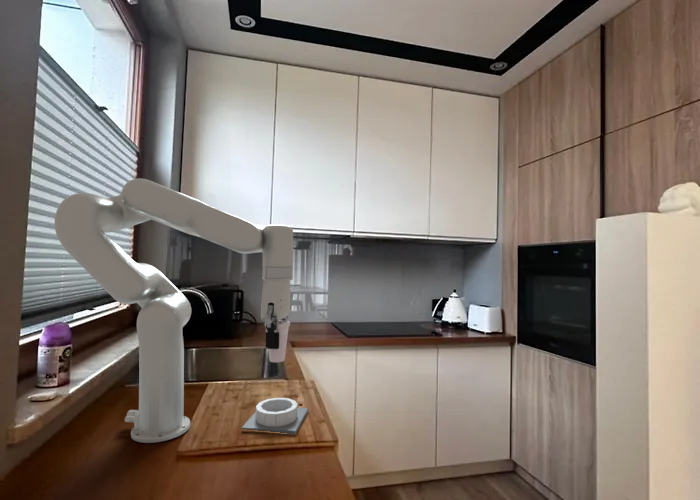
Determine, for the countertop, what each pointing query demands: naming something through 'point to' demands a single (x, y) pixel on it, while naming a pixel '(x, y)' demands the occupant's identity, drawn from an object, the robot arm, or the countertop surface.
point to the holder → (277, 416)
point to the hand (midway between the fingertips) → (277, 344)
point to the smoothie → (280, 342)
